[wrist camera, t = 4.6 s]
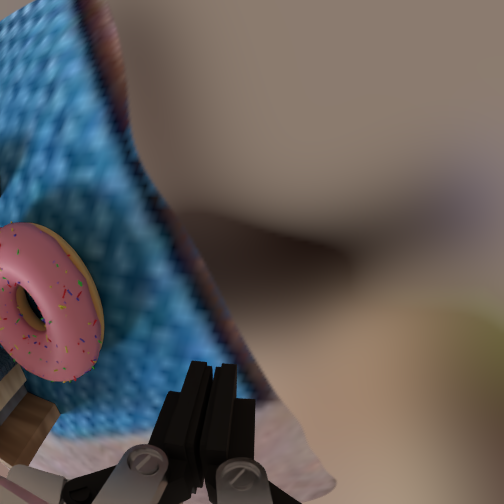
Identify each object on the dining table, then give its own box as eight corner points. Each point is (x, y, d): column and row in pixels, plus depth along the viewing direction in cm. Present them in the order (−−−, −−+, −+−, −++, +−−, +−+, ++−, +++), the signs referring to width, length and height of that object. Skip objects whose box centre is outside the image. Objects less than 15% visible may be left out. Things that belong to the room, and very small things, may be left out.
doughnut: (15, 188, 13) (-28, 197, 9) (138, 269, 15) (104, 301, 11) (0, 309, 16) (-29, 331, 12) (99, 384, 18) (76, 420, 13)
